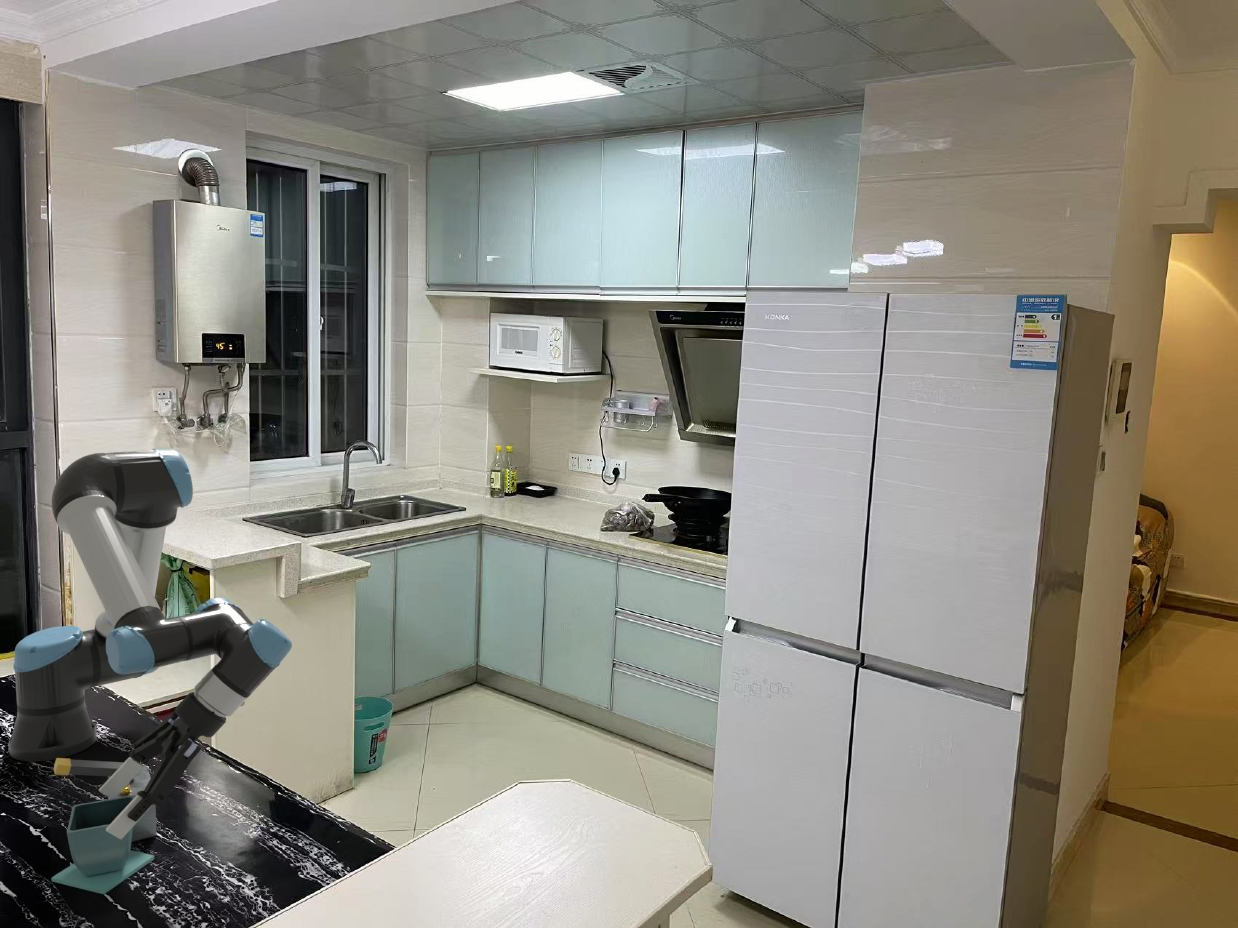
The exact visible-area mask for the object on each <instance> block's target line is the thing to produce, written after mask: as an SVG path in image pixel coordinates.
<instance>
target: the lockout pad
mask: <svg viewBox="0 0 1238 928" xmlns="http://www.w3.org/2000/svg"><path fill="white" fill-rule="evenodd" d="M154 860H155V855H153V854H148V853H143V852H141V851H136V850H131V849H130V853H129V856H128V859H127V861H126V863H125V865H124V867H123V868H122V869H121V870H117V871H112V872H107V873H101V874H96V875H92V876H85V875H84V874H83V873H82V872H81V871H80V870H79V869H78V868H77V867H76V865H75V863H74V862H73V863H72V864H70V865H69V866H67V867H66V868H64V869H63V870H61V871H60V872H58V873H56V874H55V875H54V876H53V875H52V877H51V878H50V879H51V882H52V883H53V882H54V883H57V884H62V885H65V886H68V887H72V888H73V887H74V888H78V889H81V890H85V891H89V892H92V893H93V892H94V893H97V894H101V895H105V894H106V893H108V892H109V891H111V890H113V888H115V887H117V886H119V885H120V884H121V883H122V882H125V880H127V879H128V878H130V877H131V876H133V875H134V874H135V873H137V872H139V870H141V869H142V868H144V867H146V866H147V865H149V863H151V862H152V861H154Z"/></svg>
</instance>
